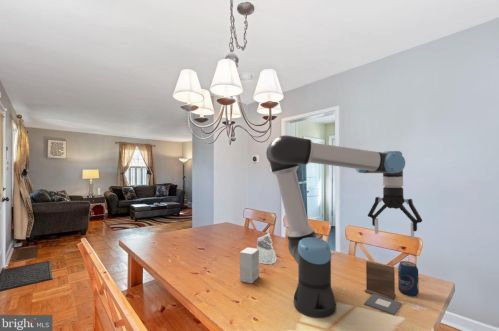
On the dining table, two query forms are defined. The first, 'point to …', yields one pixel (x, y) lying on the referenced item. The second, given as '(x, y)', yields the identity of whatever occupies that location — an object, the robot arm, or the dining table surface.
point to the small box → (249, 265)
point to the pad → (383, 304)
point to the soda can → (408, 279)
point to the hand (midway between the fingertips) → (393, 236)
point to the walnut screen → (380, 280)
